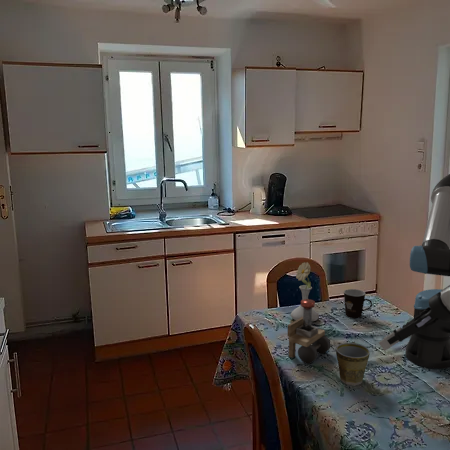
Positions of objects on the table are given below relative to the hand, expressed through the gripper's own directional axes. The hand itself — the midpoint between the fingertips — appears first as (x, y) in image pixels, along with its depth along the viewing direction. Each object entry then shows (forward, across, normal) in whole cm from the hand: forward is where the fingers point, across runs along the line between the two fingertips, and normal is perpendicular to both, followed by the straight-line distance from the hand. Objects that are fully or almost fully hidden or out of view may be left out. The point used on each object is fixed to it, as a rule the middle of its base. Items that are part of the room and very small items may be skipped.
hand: (384, 344), depth 134 cm
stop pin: (+25, +4, +16) cm, 29 cm away
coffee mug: (+31, +46, +11) cm, 57 cm away
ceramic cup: (+17, 0, -3) cm, 17 cm away
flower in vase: (+41, +30, +21) cm, 55 cm away
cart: (+29, +4, +9) cm, 31 cm away
